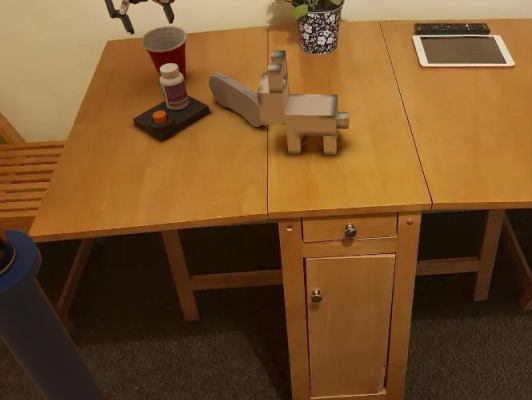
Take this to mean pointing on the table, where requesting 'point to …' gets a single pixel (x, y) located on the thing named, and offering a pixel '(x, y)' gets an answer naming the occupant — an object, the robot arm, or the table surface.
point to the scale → (171, 119)
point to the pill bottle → (173, 87)
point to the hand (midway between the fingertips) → (152, 27)
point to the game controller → (235, 97)
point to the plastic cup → (166, 47)
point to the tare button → (159, 117)
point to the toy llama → (298, 109)
